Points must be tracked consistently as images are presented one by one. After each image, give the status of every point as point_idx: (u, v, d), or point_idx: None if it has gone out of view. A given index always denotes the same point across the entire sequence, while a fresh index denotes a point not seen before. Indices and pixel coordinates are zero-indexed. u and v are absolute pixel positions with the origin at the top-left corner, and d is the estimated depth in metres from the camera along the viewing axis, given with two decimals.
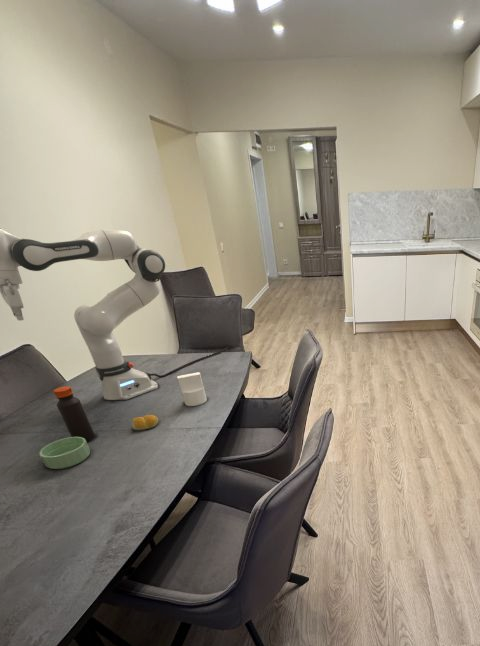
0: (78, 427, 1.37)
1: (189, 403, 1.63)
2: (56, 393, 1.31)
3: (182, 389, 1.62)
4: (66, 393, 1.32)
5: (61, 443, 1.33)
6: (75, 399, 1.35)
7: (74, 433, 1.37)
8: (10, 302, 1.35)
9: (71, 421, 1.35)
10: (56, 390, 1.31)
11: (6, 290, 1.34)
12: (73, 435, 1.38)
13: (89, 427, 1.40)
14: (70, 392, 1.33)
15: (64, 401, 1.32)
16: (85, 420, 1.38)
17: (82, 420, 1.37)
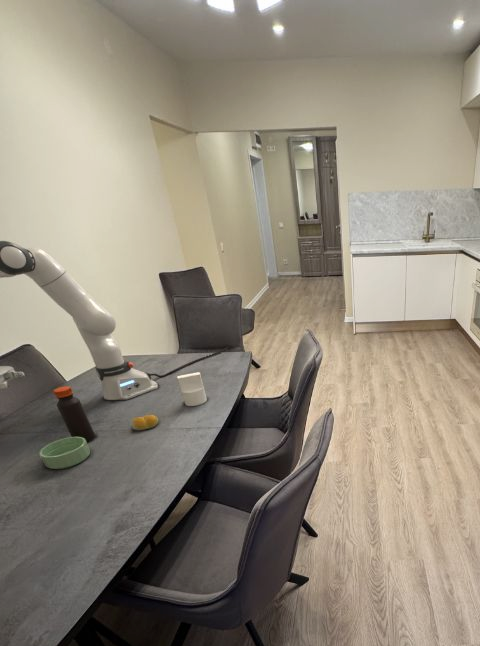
0: (78, 427, 1.37)
1: (189, 403, 1.63)
2: (56, 393, 1.31)
3: (182, 389, 1.62)
4: (66, 393, 1.32)
5: (61, 443, 1.33)
6: (75, 399, 1.35)
7: (74, 433, 1.37)
8: None
9: (71, 421, 1.35)
10: (56, 390, 1.31)
11: None
12: (73, 435, 1.38)
13: (89, 427, 1.40)
14: (70, 392, 1.33)
15: (64, 401, 1.32)
16: (85, 420, 1.38)
17: (82, 420, 1.37)
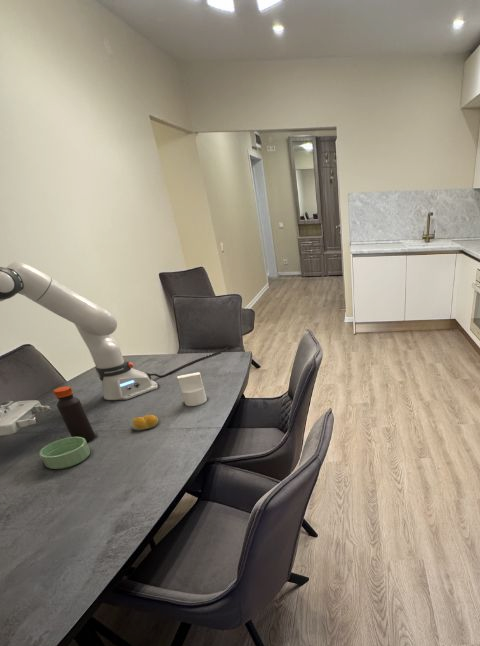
0: (78, 427, 1.37)
1: (189, 403, 1.63)
2: (56, 393, 1.31)
3: (182, 389, 1.62)
4: (66, 393, 1.32)
5: (61, 443, 1.33)
6: (75, 399, 1.35)
7: (74, 433, 1.37)
8: (6, 434, 1.26)
9: (71, 421, 1.35)
10: (56, 390, 1.31)
11: None
12: (73, 435, 1.38)
13: (89, 427, 1.40)
14: (70, 392, 1.33)
15: (64, 401, 1.32)
16: (85, 420, 1.38)
17: (82, 420, 1.37)
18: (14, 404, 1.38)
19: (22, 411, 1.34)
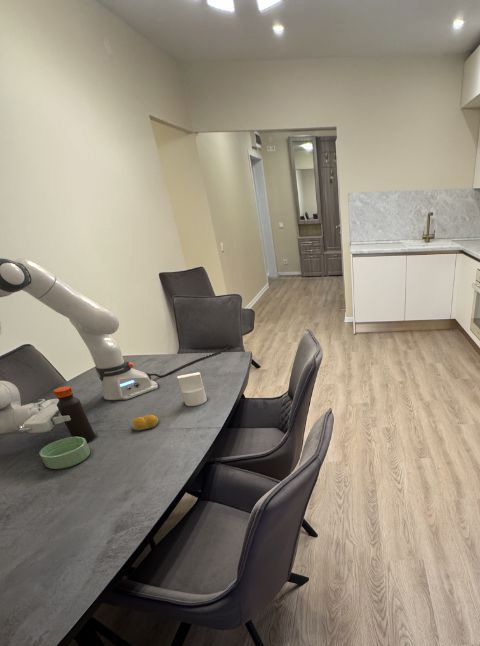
0: (78, 427, 1.37)
1: (189, 403, 1.63)
2: (56, 393, 1.31)
3: (182, 389, 1.62)
4: (66, 393, 1.32)
5: (61, 443, 1.33)
6: (75, 399, 1.35)
7: (74, 433, 1.37)
8: (41, 431, 1.28)
9: (71, 421, 1.35)
10: (56, 390, 1.31)
11: (29, 432, 1.28)
12: (73, 435, 1.38)
13: (89, 427, 1.40)
14: (70, 392, 1.33)
15: (64, 401, 1.32)
16: (85, 420, 1.38)
17: (82, 420, 1.37)
18: (47, 402, 1.40)
19: (55, 409, 1.36)
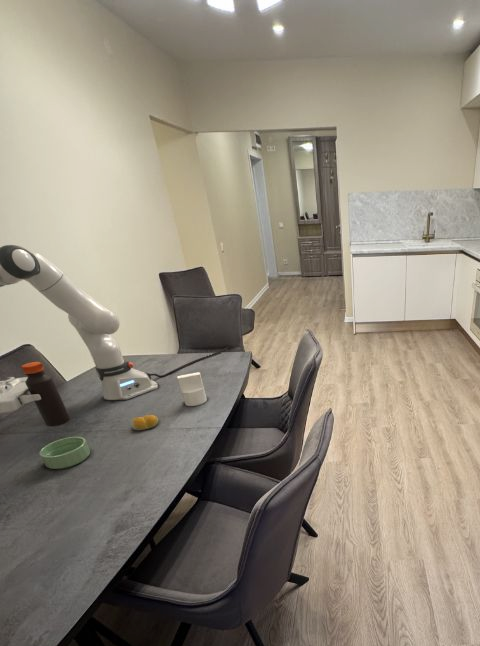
0: (50, 408, 1.23)
1: (189, 403, 1.63)
2: (24, 369, 1.17)
3: (182, 389, 1.62)
4: (36, 369, 1.18)
5: (61, 443, 1.33)
6: (46, 376, 1.21)
7: (45, 415, 1.23)
8: (7, 411, 1.14)
9: (42, 401, 1.21)
10: (24, 366, 1.17)
11: None
12: (44, 417, 1.24)
13: (63, 408, 1.26)
14: (40, 368, 1.19)
15: (33, 378, 1.18)
16: (58, 400, 1.24)
17: (54, 400, 1.23)
18: (16, 380, 1.26)
19: (25, 387, 1.22)
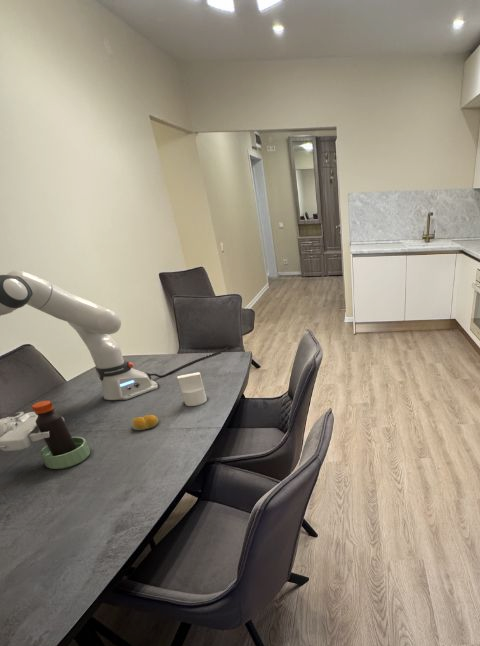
0: (60, 446, 1.25)
1: (189, 403, 1.63)
2: (34, 409, 1.19)
3: (182, 389, 1.62)
4: (46, 408, 1.20)
5: None
6: (56, 415, 1.23)
7: (55, 452, 1.25)
8: (17, 449, 1.16)
9: (52, 439, 1.23)
10: (34, 406, 1.19)
11: (4, 450, 1.16)
12: (54, 454, 1.26)
13: (72, 445, 1.28)
14: (50, 407, 1.21)
15: (43, 417, 1.21)
16: (68, 437, 1.27)
17: (64, 438, 1.25)
18: (25, 415, 1.27)
19: (34, 423, 1.23)
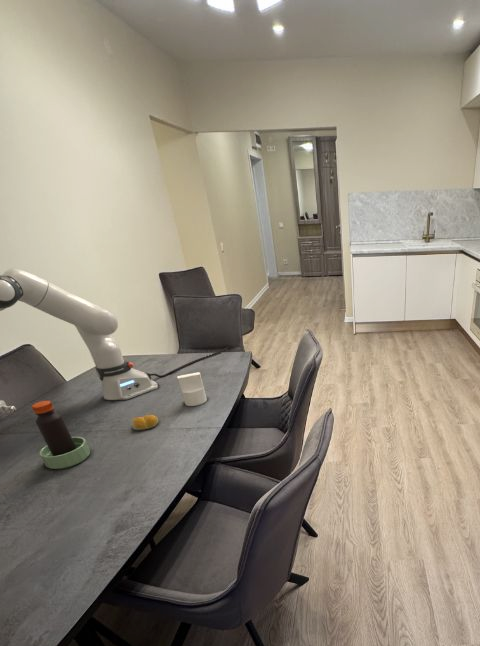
0: (60, 446, 1.25)
1: (189, 403, 1.63)
2: (34, 409, 1.19)
3: (182, 389, 1.62)
4: (46, 408, 1.20)
5: None
6: (56, 415, 1.23)
7: (55, 452, 1.25)
8: None
9: (52, 439, 1.23)
10: (34, 406, 1.19)
11: None
12: (54, 454, 1.26)
13: (72, 445, 1.28)
14: (50, 407, 1.21)
15: (43, 417, 1.21)
16: (68, 437, 1.27)
17: (64, 438, 1.25)
18: None
19: None
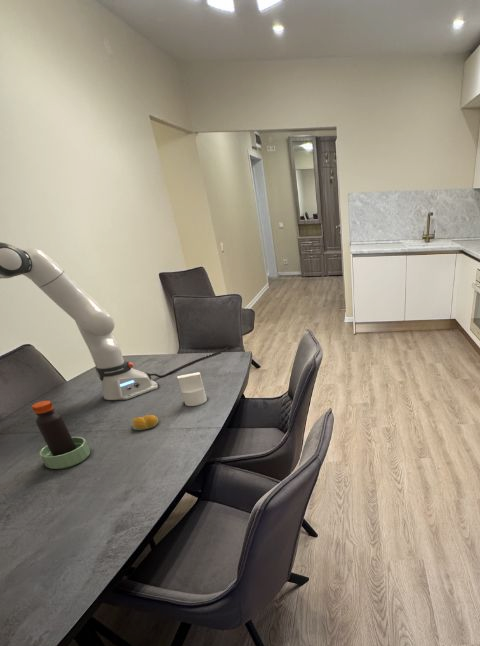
0: (60, 446, 1.25)
1: (189, 403, 1.63)
2: (34, 409, 1.19)
3: (182, 389, 1.62)
4: (46, 408, 1.20)
5: None
6: (56, 415, 1.23)
7: (55, 452, 1.25)
8: None
9: (52, 439, 1.23)
10: (34, 406, 1.19)
11: None
12: (54, 454, 1.26)
13: (72, 445, 1.28)
14: (50, 407, 1.21)
15: (43, 417, 1.21)
16: (68, 437, 1.27)
17: (64, 438, 1.25)
18: None
19: None
